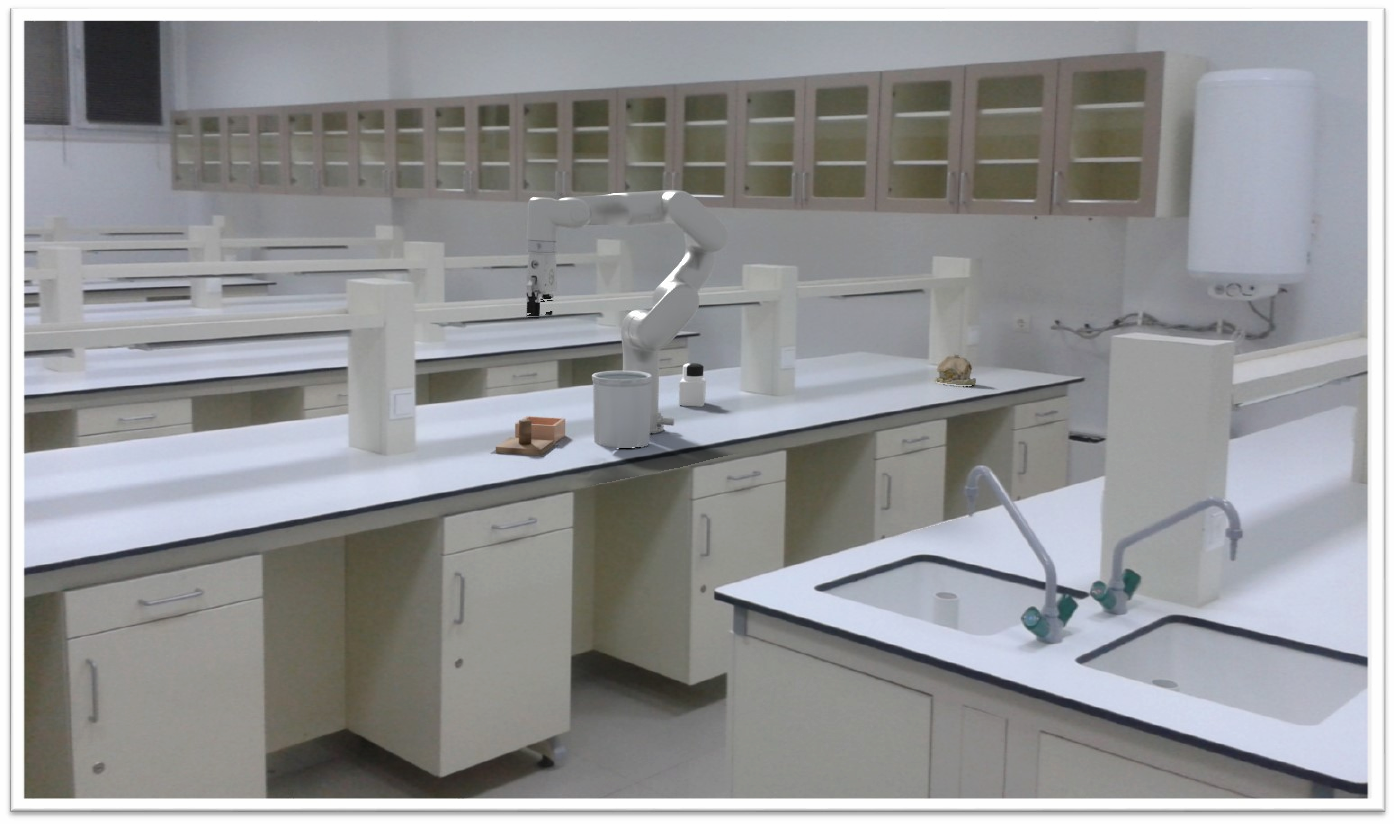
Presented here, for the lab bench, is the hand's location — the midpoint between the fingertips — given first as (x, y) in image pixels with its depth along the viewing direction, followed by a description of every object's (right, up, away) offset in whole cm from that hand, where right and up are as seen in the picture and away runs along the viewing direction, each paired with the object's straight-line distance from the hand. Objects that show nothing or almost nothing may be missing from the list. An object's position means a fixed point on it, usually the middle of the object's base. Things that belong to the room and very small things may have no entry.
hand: (539, 316), depth 317 cm
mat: (-2, -34, -14) cm, 36 cm away
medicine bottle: (+38, -22, +54) cm, 70 cm away
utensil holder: (+20, -32, -2) cm, 38 cm away
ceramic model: (+126, -15, +105) cm, 165 cm away
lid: (-2, -33, -14) cm, 36 cm away
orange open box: (0, -31, -1) cm, 31 cm away
